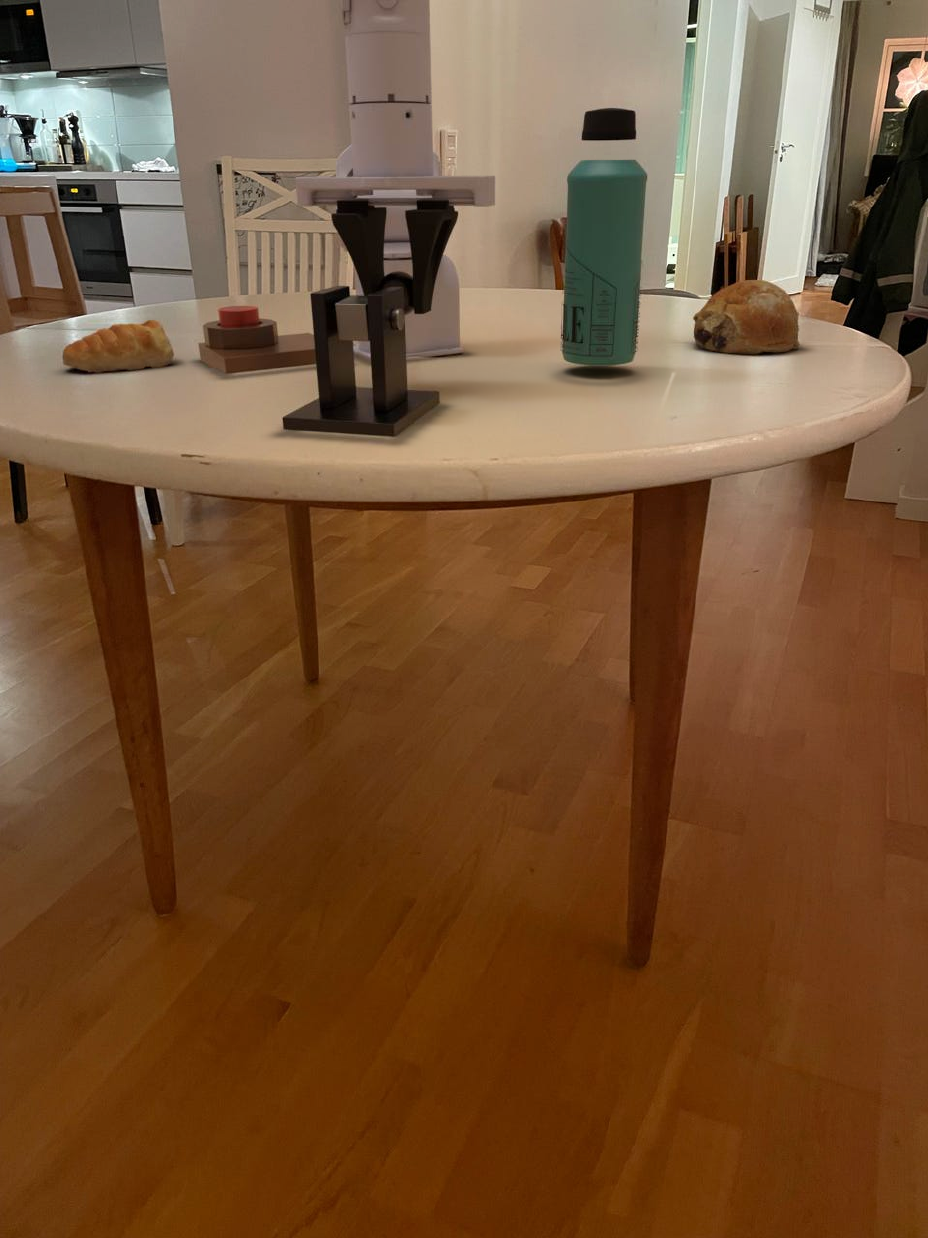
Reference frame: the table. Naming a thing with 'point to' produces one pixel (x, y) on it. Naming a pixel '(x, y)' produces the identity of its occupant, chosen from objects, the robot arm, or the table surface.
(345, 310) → the lever
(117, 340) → the pastry
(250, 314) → the button
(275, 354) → the button block
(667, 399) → the table surface
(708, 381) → the table surface
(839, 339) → the table surface
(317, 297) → the bracket
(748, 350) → the bread roll
